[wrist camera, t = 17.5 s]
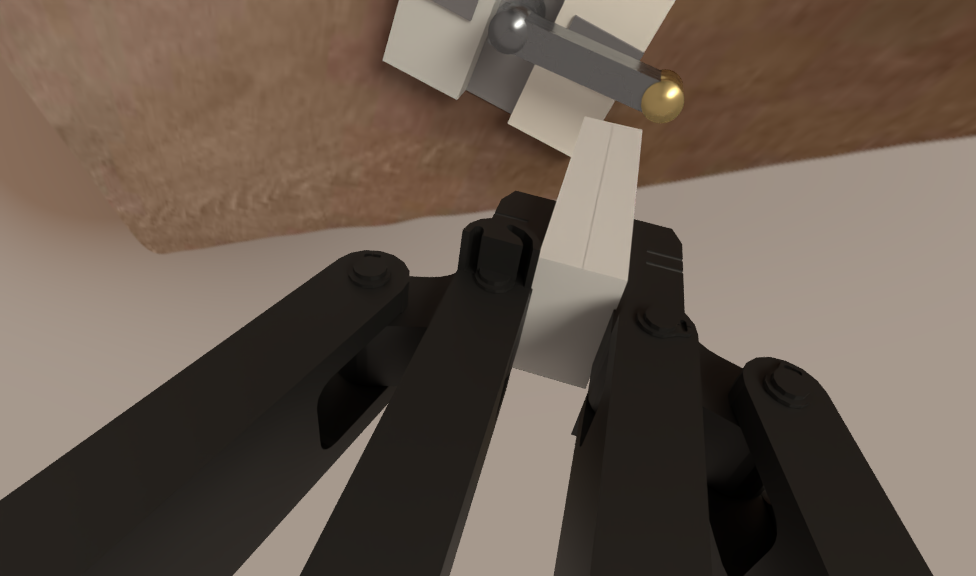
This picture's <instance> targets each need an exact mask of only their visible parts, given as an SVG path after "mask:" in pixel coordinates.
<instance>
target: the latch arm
mask: <svg viewBox="0 0 976 576" xmlns="http://www.w3.org/2000/svg"><path fill="white" fill-rule="evenodd" d="M545 16H546V6H545V3H544V1H543V0H512V1H511V2H510V3H509V2H507V1H506V2H505V3H504V4H503V5H502V6H500V7H499V8H498V10H497V13H496V15H495V16H494V17H493V18H492V20H491V22H490V24H489V28H488V36H489V38H488V41H487V43H488V44H491V45H492V46H493V47H494V48H495V49H496V50H497V51H499V52H500V53H503V54H508V55H509V54H513V55H515V56H518V57H520V58H522V59H524V60H526V61H529V62H531V63H533V64H535V65H538V66H540V67H542V68H544V69H547V70H549V71H551V72H553V73H556V74H558V75H560V76H562V77H565V78H567V79H569V80H571V81H573V82H576V83H578V84H580V85H582V86H585V87H587V88H589V89H591V90H594V91H596V92H598V93H600V94H603V95H605V96H607V97H609V98H612V99H614V100H616V101H618V102H621V103H623V104H625V105H627V106H629V107H632V108H634V109H636V110H638V111H641V112H643V114H644V115H645V117H646V118H647V119H649V120H650V121H652V122H655V123H666V122H669V121H671V120H673V119H674V118H676V117H677V116H678V115H679V114H680V112H681V110H682V108H683V105H684V93H683V82H682V80H681V78H680V76H679V75H678V74H677V73H675V72H674V71H671V70H666V69H664V70H659V69H656V68H654V67H652V66H650V65H647V64H645V63H643V62H641V61H639V60H636V59H634V58H632V57H630V56H627V55H625V54H623V53H621V52H618V51H616V50H614V49H612V48H609V47H607V46H605V45H603V44H601V43H598V42H596V41H594V40H592V39H589V38H587V37H585V36H583V35H580V34H578V33H576V32H574V31H572V30H569V29H567V28H565V27H563V26H560V25H558V24H556V23H554V22H551V21H549V20H547V19H545Z"/></svg>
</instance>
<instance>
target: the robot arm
mask: <svg viewBox="0 0 976 576" xmlns="http://www.w3.org/2000/svg"><path fill="white" fill-rule="evenodd" d="M641 139H642V130H640V129H636V128H632V127H627V126H623V125H619V124H615V123H610V122H606V121H602V120H598V119H594V118H589V117H584V120H583V123H582V126H581V129H580V132H579V135H578V138H577V141H576V144H575V147H574V150H573V154H572V157H571V160H570V163H569V166H568V169H567V172H566V175H565V178H564V181H563V184H562V187H561V190H560V193H559V196H558V199H557V201H554V200H550V199H546V198H542V197H538V196H534V195H530V194H526V193H522V192H519V191H515V192H513V193H511V194H510V195H508V196H506V197H505V198H503V199H501V201H500V203H499V205H498V207H497V209H496V211H495V214H494V215H493V217H492V218H487V219H480V220H477V221H474V222H472V223H470V224H469V225H467V226H466V228H464V230H463V232H462V239H461V248H460V255H459V262H458V270H457V272H456V273H454V274H452V275H448V276H443V277H413V276H409V270H408V268H407V266H406V265H405V263H404V262H403V261H401V260H400V259H398V258H397V257H396V256H394V255H391V254H388V253H385V252H381V251H369V250H364V251H359V252H353V253H350V254H348V255H346V256H344V257H341V258H339V259H338V260H336V261H335V262H334V263H332V264H331V265H329V266H328V267H326V268H325V269H324V270H322V271H321V272H320V273H318V274H317V275H315V276H314V277H312V278H311V279H310V280H309V281H307V282H306V283H304V284H303V285H301V286H300V287H299V288H297V289H296V290H294V291H293V292H291V293H290V294H289V295H287V296H286V297H285V298H283V299H282V300H281V301H279V302H277V303H276V304H275V305H273V306H272V307H270V308H269V309H268V310H266V311H265V312H264V313H262V314H261V315H259V316H258V317H256V318H255V319H254V320H252V321H251V322H249V323H248V324H247V325H245V326H244V327H242V328H241V329H240V330H239V331H237V332H235V333H234V334H233V335H231V336H230V337H229V338H227V339H226V340H224V341H223V342H222V343H220V344H219V345H217V346H216V347H214V348H213V349H212V350H210V351H209V352H207V353H206V354H205V355H203V356H202V357H200V358H199V359H198V360H196V361H195V362H194V363H192V364H191V365H189V366H188V367H186V368H185V369H184V370H182V371H181V372H179V373H178V374H177V375H175V376H174V377H172V378H171V379H170V380H168V381H167V382H165V383H164V384H163V385H161V386H160V387H158V388H157V389H156V390H154V391H153V392H151V393H150V394H149V395H147V396H146V397H144V398H143V399H142V400H140V401H139V402H137V403H136V404H135V405H133V406H132V407H130V408H129V409H128V410H126V411H125V412H123V413H122V414H121V415H119V416H118V417H116V418H115V419H114V420H112V421H111V422H109V423H108V424H107V425H105V426H104V427H102V428H101V429H100V430H98V431H97V432H95V433H94V434H93V435H91V436H90V437H88V438H87V439H86V440H84V441H83V442H81V443H80V444H79V445H77V446H76V447H74V448H73V449H72V450H70V451H69V452H67V453H66V454H65V455H63V456H62V457H60V458H59V459H58V460H56V461H55V462H53V463H52V464H51V465H49V466H48V467H47V468H45V469H44V470H42V471H41V472H40V473H38V474H37V475H35V476H34V477H33V478H31V479H30V480H28V481H27V482H25V483H24V484H23V485H21V486H20V487H18V488H17V489H16V490H14V491H13V492H11V493H10V494H9V495H7V496H6V497H4V498H3V499H2V500H0V576H233V574H234V573H235V572H236V571H237V570H238V569H239V568H240V567H241V566H242V565H243V563H244V562H245V561H246V560H247V559H248V558H249V557H250V556H251V554H252V553H253V552H254V551H255V550H256V549H257V548H258V547H259V546H260V545H261V543H262V542H263V541H264V540H265V539H266V538H267V537H268V536H269V535H270V534H271V532H272V531H273V530H274V529H275V528H276V527H277V526H278V524H280V522H281V521H282V520H283V519H284V518H285V517H286V516H287V515H288V514H289V512H290V511H291V510H292V509H293V508H294V507H295V506H296V505H297V504H298V502H299V501H300V500H301V499H302V498H303V497H304V496H305V495H306V494H307V493H308V491H309V490H310V489H311V488H312V487H313V486H314V485H315V484H316V483H317V481H318V480H319V479H320V478H321V477H322V476H323V475H324V473H326V471H327V470H328V469H329V468H330V467H331V466H332V465H333V464H334V463H335V461H336V460H337V459H338V458H339V457H340V456H341V455H342V454H343V453H344V451H345V450H346V449H347V448H348V447H349V446H350V445H351V444H352V443H353V442H354V440H355V439H356V438H357V437H358V436H359V435H360V434H361V433H362V432H363V430H364V429H365V428H366V427H367V426H368V425H369V424H370V423H371V421H372V420H373V419H374V418H375V417H376V416H377V415H378V414H379V413H380V412H381V411H382V409H383V408H384V407H385V406H386V405H387V404H388V405H387V407H386V409H385V411H384V413H383V415H382V417H381V419H380V421H379V423H378V425H377V427H376V429H375V431H374V433H373V434H372V436H371V438H370V440H369V442H368V444H367V446H366V448H365V450H364V452H363V454H362V456H361V458H360V460H359V462H358V464H357V466H356V467H355V469H354V471H353V473H352V475H351V477H350V479H349V481H348V483H347V485H346V487H345V489H344V491H343V493H342V495H341V497H340V499H339V500H338V502H337V505H336V506H335V508H334V510H333V512H332V514H331V516H330V518H329V520H328V522H327V524H326V526H325V528H324V530H323V531H322V533H321V535H320V538H319V539H318V542H317V543H316V545H315V547H314V549H313V551H312V553H311V555H310V557H309V559H308V561H307V563H306V565H305V567H304V568H303V570H302V572H301V574H300V576H449V575H450V572H451V569H452V565H453V562H454V559H455V555H456V552H457V549H458V546H459V543H460V539H461V536H462V532H463V529H464V526H465V523H466V520H467V516H468V513H469V510H470V506H471V503H472V500H473V496H474V493H475V490H476V487H477V483H478V480H479V477H480V474H481V470H482V467H483V464H484V460H485V457H486V454H487V451H488V447H489V444H490V441H491V438H492V434H493V431H494V428H495V424H496V421H497V418H498V415H499V411H500V408H501V405H502V401H503V398H504V395H505V391H506V388H507V384H508V380H509V376H510V372H511V369H512V367H513V368H516V369H519V370H523V371H527V372H530V373H533V374H537V375H540V376H543V377H547V378H550V379H554V380H557V381H560V382H564V383H567V384H571V385H574V386H577V387H581V388H586V386H587V383H588V381H589V378H590V383H589V389H588V393H587V396H586V398H585V401H584V403H583V406H582V408H581V411H580V413H579V416H578V418H577V421H576V423H575V426H574V428H573V431H572V433H571V434H572V435H575V436H576V443H575V449H574V455H573V461H572V467H571V473H570V480H569V486H568V491H567V498H566V504H565V510H564V516H563V522H562V528H561V535H560V540H559V546H558V552H557V558H556V565H555V571H554V576H933V574H932V573H931V571H930V569H929V567H928V566H927V564H926V562H925V561H924V559H923V557H922V555H921V554H920V552H919V550H918V548H917V547H916V545H915V543H914V542H913V540H912V538H911V537H910V535H909V533H908V531H907V530H906V528H905V526H904V525H903V523H902V521H901V519H900V518H899V516H898V514H897V512H896V511H895V509H894V507H893V505H892V504H891V502H890V500H889V499H888V497H887V495H886V493H885V492H884V490H883V488H882V487H881V485H880V483H879V481H878V480H877V478H876V476H875V474H874V473H873V471H872V469H871V468H870V466H869V464H868V462H867V461H866V459H865V457H864V456H863V454H862V452H861V450H860V449H859V447H858V445H857V443H856V442H855V440H854V438H853V437H852V435H851V433H850V432H849V430H848V428H847V426H846V425H845V423H844V421H843V420H842V418H841V416H840V414H839V413H838V411H837V409H836V407H835V406H834V404H833V402H832V401H831V399H830V397H829V395H828V394H827V392H826V391H825V390H824V389H823V387H822V386H821V385H820V384H819V382H818V381H817V380H816V379H814V378H813V377H812V376H811V375H809V374H808V373H807V372H806V371H804V370H803V369H801V368H799V367H797V366H795V365H793V364H791V363H789V362H787V361H784V360H780V359H776V358H772V357H759V358H755V359H753V360H751V361H749V362H747V363H746V365H745V366H744V368H741V367H739V366H737V365H735V364H733V363H731V362H729V361H727V360H725V359H723V358H722V357H720V356H718V355H716V354H715V353H713V352H711V351H709V350H708V349H707V348H706V347H704V346H703V345H702V344H700V343H699V341H698V333H697V330H696V327H695V324H694V323H693V322H692V321H691V320H690V318H689V317H688V316H687V315H686V314H685V311H684V285H683V273H682V272H683V262H682V259H683V258H682V257H683V256H682V243H681V242H680V240H679V239H678V237H677V236H676V234H675V233H674V231H673V230H672V229H670V228H666V227H662V226H658V225H654V224H650V223H647V222H643V221H639V220H635V219H634V211H635V200H636V190H637V180H638V169H639V159H640V149H641Z"/></svg>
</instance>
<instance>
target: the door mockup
mask: <svg viewBox="0 0 976 576" xmlns="http://www.w3.org/2000/svg"><path fill="white" fill-rule="evenodd" d="M506 1H507V2H509V3H510V2H511V1H512V0H399V2H398V6H397V10H396V13H395V17H394V20H393V24H392V28H391V31H390V35H389V39H388V42H387V46H386V50H385V53H384V57H383V61H384V62H386V63H388V64H390V65H392V66H394V67H396V68H398V69H400V70H401V71H403V72H405V73H407V74H409V75H411V76H413V77H415V78H417V79H418V80H420V81H422V82H424V83H426V84H428V85H430V86H432V87H433V88H435V89H437V90H439V91H441V92H443V93H445V94H447V95H449V96H450V97H452V98H454V99H456V100H457V99H458V98H459V97H460V96H461V95H462V94H463V93H464V91H465V90H467V91H469V92H471V93H473V94H475V95H476V96H478V97H480V98H482V99H484V100H486V101H488V102H490V103H491V104H493V105H495V106H497V107H499V108H501V109H503V110H505V111H506V112H508V113H510V114H511V117H510V119H509V121H508V124H510V125H511V126H513V127H515V128H517V129H519V130H521V131H523V132H525V133H526V134H528V135H530V136H532V137H534V138H536V139H538V140H540V141H542V142H543V143H545V144H547V145H549V146H551V147H553V148H555V149H557V150H559V151H560V152H562V153H564V154H566V155H568V156H570V157H572V154H573V150H574V147H575V144H576V141H577V138H578V135H579V132H580V129H581V126H582V123H583V120H584V117H589V118H594V119H598V120H602V121H603V120H604V118H605V117H606V115H607V113H608V112H609V110H610V108H611V107H612V105H613V103H614V102H615V100H614V99H612V98H609V97H607V96H605V95H603V94H600V93H598V92H596V91H594V90H591V89H589V88H587V87H585V86H582V85H580V84H578V83H576V82H573V81H571V80H569V79H567V78H565V77H562V76H560V75H558V74H556V73H553V72H551V71H549V70H547V69H544V68H542V67H540V66H538V65H535V64H533V63H531V62H529V61H526V60H524V59H522V58H520V57H518V56H515V55H513V54H509V55H508V54H503V53H500V52H499V51H497V50H496V49H495V48H494V47H493V46H492V45H491V44H488V43H487V41H488V38H489V36H488V28H489V24H490V22H491V20H492V18H493V17H494V16H495V15H496V13H497V10H498V8H499V7H500V6H502V5H503V4H504V3H505V2H506ZM543 1H544V3H545V6H546V16H545V19H547V20H549V21H551V22H554V23H556V24H558V25H560V26H563V27H565V28H567V29H569V30H572V31H574V32H576V33H578V34H580V35H583V36H585V37H587V38H589V39H592V40H594V41H596V42H598V43H601V44H603V45H605V46H607V47H609V48H612V49H614V50H616V51H618V52H621V53H623V54H625V55H627V56H630V57H632V58H634V59H636V60H639V61H640V59H641V58H642V56H643V54H644V52H645V50H646V48H647V47H648V45H649V43H650V42H651V40H652V38H653V37H654V35H655V33H656V32H657V30H658V28H659V27H660V25H661V23H662V22H663V20H664V18H665V17H666V15H667V13H668V12H669V10H670V8H671V7H672V5H673V3H674V2H675V0H543Z"/></svg>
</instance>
